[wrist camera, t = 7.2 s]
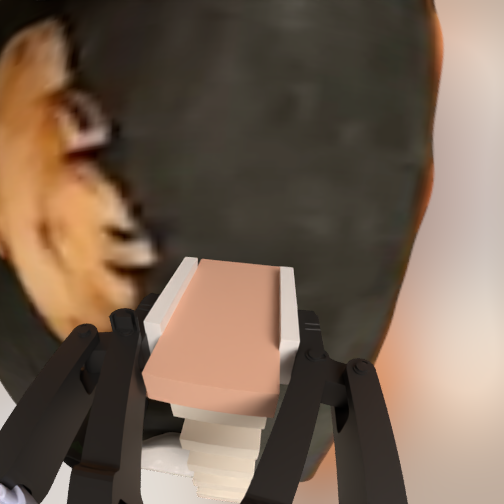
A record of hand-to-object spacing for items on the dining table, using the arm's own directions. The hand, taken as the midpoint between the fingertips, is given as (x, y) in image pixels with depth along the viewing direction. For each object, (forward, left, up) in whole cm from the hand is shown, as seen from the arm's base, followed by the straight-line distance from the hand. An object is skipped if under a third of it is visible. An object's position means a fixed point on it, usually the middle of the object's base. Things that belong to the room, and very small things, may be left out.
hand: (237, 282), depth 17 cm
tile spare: (0, 0, -1) cm, 1 cm away
